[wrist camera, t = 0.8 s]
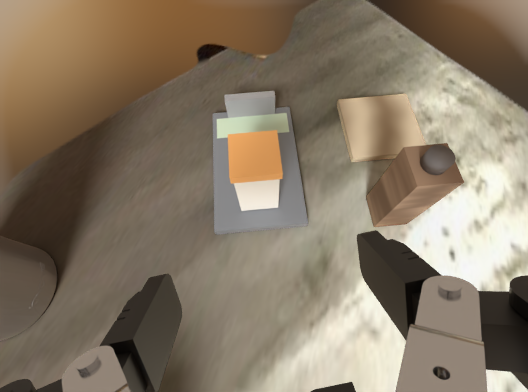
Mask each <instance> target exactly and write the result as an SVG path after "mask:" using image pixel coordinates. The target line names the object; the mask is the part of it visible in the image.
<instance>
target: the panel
mask: <svg viewBox="0 0 528 392" xmlns="http://www.w3.org/2000/svg"><path fill="white" fill-rule="evenodd" d="M225 105H226V109H227V112H223V113H213V164H214V232H215V233H216V234H226V233H237V232H248V231H259V230H270V229H281V228H292V227H303V226H307V225H308V219H307V213H306V207H305V200H304V194H303V188H302V182H301V175H300V169H299V163H298V157H297V151H296V144H295V138H294V132H293V126H292V120H291V113H290V107H281V108H275V92H274V91H264V92H253V93H241V94H230V95H225ZM271 130H277V133H278V141H279V148H280V156H281V164H282V171H283V177H282V179H280V183H279V201H278V208H269V209H258V210H247V211H241V207H240V204H239V200H238V197H237V193H236V189H235V186H234V183H232V184H231V182H230V178H229V156H228V134H237V133H249V132H260V131H271Z"/></svg>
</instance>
